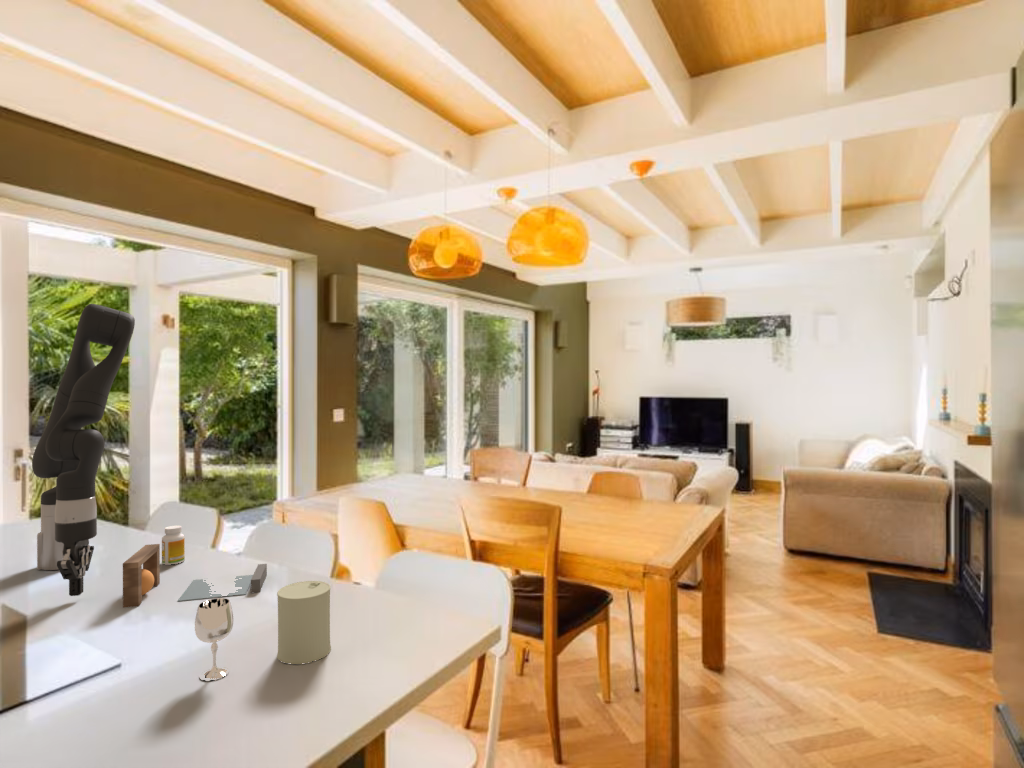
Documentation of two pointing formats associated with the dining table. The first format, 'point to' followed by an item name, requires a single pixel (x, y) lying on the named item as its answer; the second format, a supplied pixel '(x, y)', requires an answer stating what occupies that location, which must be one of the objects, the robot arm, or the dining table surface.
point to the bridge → (139, 573)
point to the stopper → (258, 578)
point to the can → (303, 622)
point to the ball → (147, 581)
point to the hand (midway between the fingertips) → (76, 594)
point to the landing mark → (201, 591)
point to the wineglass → (214, 628)
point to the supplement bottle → (173, 546)
